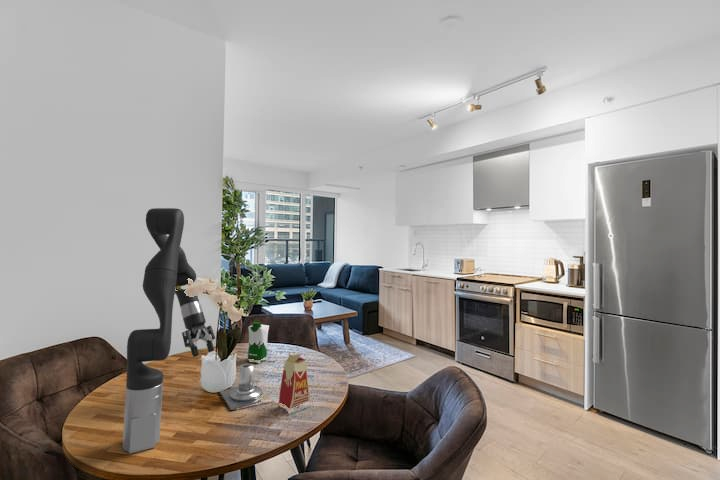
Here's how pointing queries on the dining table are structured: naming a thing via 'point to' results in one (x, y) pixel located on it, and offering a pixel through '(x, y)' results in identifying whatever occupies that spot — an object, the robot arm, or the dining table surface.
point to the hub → (246, 379)
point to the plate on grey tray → (240, 398)
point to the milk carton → (294, 382)
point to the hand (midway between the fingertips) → (204, 353)
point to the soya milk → (257, 341)
